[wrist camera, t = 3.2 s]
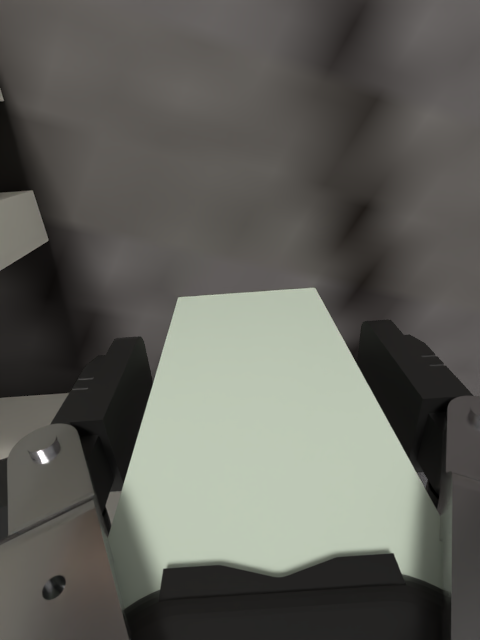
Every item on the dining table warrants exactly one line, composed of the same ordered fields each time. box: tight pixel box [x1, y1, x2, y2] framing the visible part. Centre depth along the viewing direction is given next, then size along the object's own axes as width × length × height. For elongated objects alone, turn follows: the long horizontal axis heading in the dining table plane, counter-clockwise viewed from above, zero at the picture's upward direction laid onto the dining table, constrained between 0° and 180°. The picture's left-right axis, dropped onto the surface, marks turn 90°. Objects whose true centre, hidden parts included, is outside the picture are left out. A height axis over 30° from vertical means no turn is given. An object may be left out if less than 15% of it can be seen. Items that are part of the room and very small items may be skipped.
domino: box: [108, 288, 444, 608], centre depth 9 cm, size 2×5×10 cm, turn 94°
